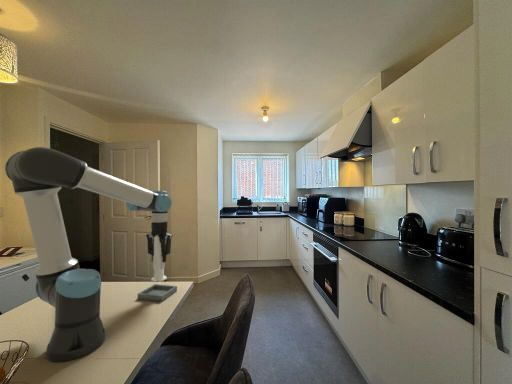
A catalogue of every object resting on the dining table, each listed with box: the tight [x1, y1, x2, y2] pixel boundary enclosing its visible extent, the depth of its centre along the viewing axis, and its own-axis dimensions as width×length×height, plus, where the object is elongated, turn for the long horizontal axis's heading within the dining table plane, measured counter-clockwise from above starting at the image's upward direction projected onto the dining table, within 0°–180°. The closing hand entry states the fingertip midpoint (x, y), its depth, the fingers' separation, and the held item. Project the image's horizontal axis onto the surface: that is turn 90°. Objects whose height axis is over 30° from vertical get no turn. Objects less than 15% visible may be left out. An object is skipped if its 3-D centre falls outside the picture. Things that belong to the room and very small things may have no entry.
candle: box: [150, 234, 168, 283], centre depth 116 cm, size 7×7×25 cm
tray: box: [137, 283, 178, 302], centre depth 115 cm, size 13×13×2 cm
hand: (158, 268), depth 115 cm, fingers closed on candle, 3 cm apart
